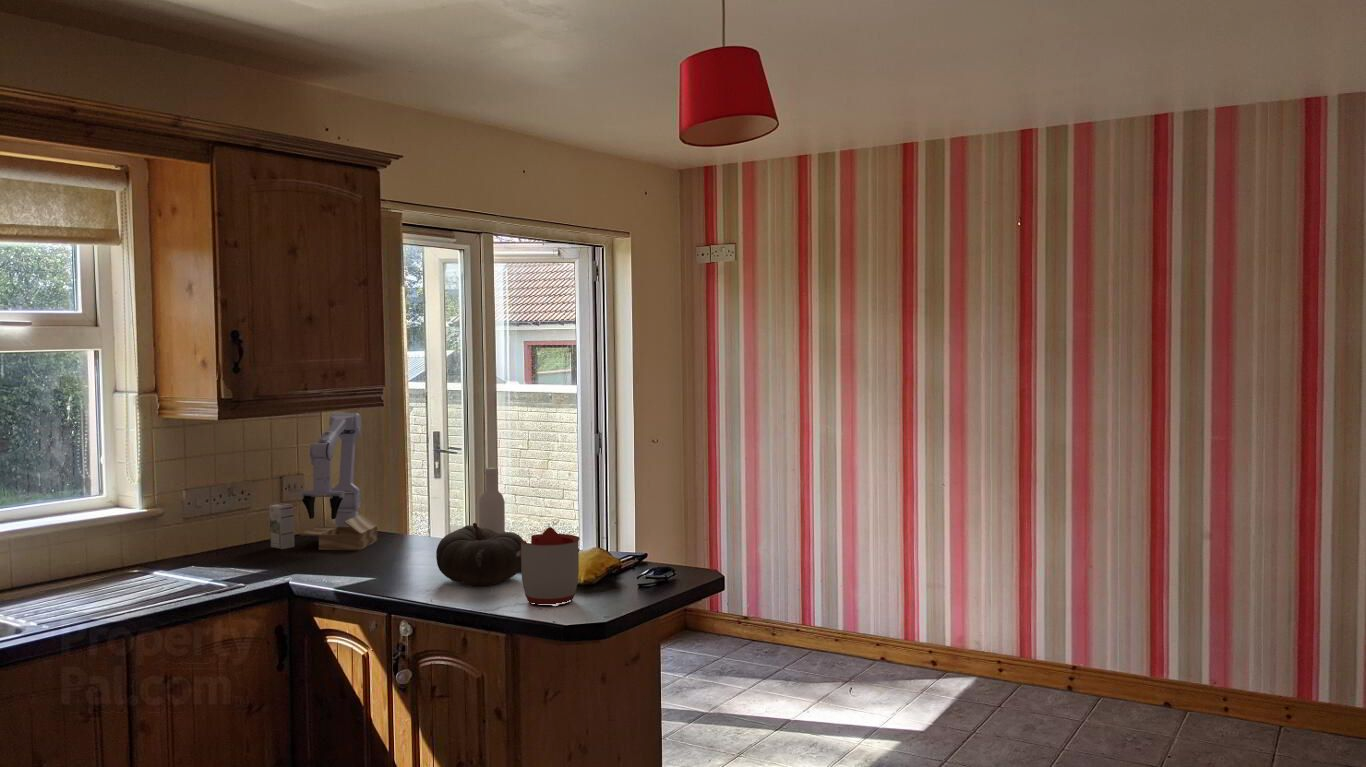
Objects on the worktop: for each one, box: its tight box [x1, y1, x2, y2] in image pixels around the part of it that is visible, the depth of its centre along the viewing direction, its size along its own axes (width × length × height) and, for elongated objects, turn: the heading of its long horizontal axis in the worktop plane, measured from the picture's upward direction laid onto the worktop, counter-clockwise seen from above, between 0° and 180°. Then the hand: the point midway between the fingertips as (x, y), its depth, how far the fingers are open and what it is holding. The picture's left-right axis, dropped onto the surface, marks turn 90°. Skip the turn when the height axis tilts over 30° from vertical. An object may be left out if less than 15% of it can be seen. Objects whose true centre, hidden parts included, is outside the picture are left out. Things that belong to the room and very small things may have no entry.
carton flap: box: [344, 514, 378, 535], centre depth 354 cm, size 14×7×1 cm
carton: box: [299, 526, 378, 551], centre depth 354 cm, size 16×21×5 cm
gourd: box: [435, 522, 524, 586], centre depth 301 cm, size 25×25×17 cm
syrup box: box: [269, 503, 295, 550], centre depth 351 cm, size 6×6×14 cm
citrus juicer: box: [516, 526, 580, 604], centre depth 275 cm, size 16×17×20 cm
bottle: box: [478, 467, 506, 533], centre depth 323 cm, size 8×8×30 cm
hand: (322, 518), depth 349 cm, fingers open, 7 cm apart
